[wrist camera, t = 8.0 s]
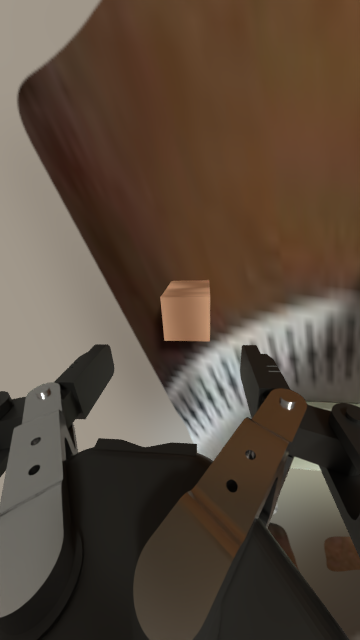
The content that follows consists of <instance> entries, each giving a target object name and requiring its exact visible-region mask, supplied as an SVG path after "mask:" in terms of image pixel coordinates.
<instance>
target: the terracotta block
mask: <svg viewBox="0 0 360 640" xmlns="http://www.w3.org/2000/svg"><path fill="white" fill-rule="evenodd" d="M160 299H161V310H162V320H163V331H164V341H210V287H209V280H195V281H171V283H170V284H169V286H168V287H167V289H166V290H165V292H164V293H163V294H162V296H161V297H160Z"/></svg>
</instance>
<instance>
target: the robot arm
mask: <svg viewBox="0 0 360 640" xmlns="http://www.w3.org/2000/svg"><path fill="white" fill-rule="evenodd" d="M113 373H114V363H113V359H112V354H111V349H110V346H109V345H94V346H93V347H92V349H90V351H89V352H87V353H85V354H83V355H82V356H80V357H79V358H78V359H77V360H76V361H75V362H74V363H73V364H72V365H71V366H70V367H69V368H68V369H67V370H66V371H65V372H64V373H63V374H62V375H61V376H60V377H59V378H58V379H57V380H56V381H55V382H53V383H46V384H42V385H40V386H38V387H36V388H34V389H33V390H32V391H30V392H29V393H28V394H27V396H26V397H22V398H17V399H11V397H10V395H9V394H8V392H5V391H1V392H0V477H1V475H2V474H3V473H4V472H5V471H6V474H5V480H4V486H3V491H2V496H1V502H0V640H349V639H348V637H347V635H346V634H345V633H344V631H343V630H342V628H341V627H340V626H339V624H338V623H337V622H336V620H335V619H334V618H333V616H332V615H331V614H330V612H329V611H328V610H327V608H326V607H325V605H324V604H323V603H322V602H321V600H320V599H319V597H318V596H317V595H316V593H315V592H314V591H313V589H312V588H311V587H310V585H309V584H308V583H307V581H306V580H305V579H304V577H303V576H302V575H301V573H300V572H299V571H298V569H297V568H296V567H295V565H294V564H293V563H292V561H291V560H290V559H289V557H288V556H287V555H286V553H285V552H284V550H283V549H282V548H281V546H280V545H279V544H278V542H277V541H276V540H275V538H274V537H273V536H272V534H271V533H270V532H269V530H268V529H267V528H268V525H269V523H270V520H271V518H272V515H273V512H274V509H275V506H276V503H277V500H278V497H279V494H280V491H281V489H282V486H283V484H284V482H285V479H286V477H287V474H288V471H289V469H290V467H291V464H292V462H293V459H294V457H297V458H300V459H303V460H306V461H308V462H311V463H314V464H317V465H319V467H320V469H321V471H322V474H323V476H324V478H325V480H326V483H327V485H328V487H329V490H330V492H331V494H332V496H333V498H334V501H335V503H336V505H337V508H338V510H339V512H340V514H341V517H342V519H343V521H344V523H345V526H346V528H347V530H348V532H349V534H350V537H351V539H352V541H353V544H354V546H355V548H356V550H357V553H358V555H359V557H360V407H358V406H355V405H352V404H347V403H338V404H335V405H334V406H333V407H332V410H331V411H329V410H325V409H321V408H317V407H314V406H311V405H308V404H307V403H306V401H305V399H304V398H303V397H302V396H301V395H299V394H298V393H296V392H294V391H292V390H290V388H289V386H288V384H287V383H286V381H285V379H284V377H283V375H282V374H281V372H280V370H279V368H278V367H277V365H276V363H275V361H274V360H273V359H272V358H271V357H270V356H268V355H267V354H260V352H259V350H258V348H257V346H256V345H243V346H242V352H241V365H240V374H241V380H242V384H243V388H244V391H245V395H246V399H247V402H248V406H249V410H250V414H251V417H252V419H250V418H248V417H247V418H245V419H244V420H243V422H242V423H241V424H240V426H239V427H238V428H237V430H236V431H235V432H234V434H233V435H232V437H231V438H230V439H229V441H228V442H227V443H226V445H225V446H224V447H223V449H222V450H221V452H220V453H219V454H218V456H217V457H216V458H215V460H214V461H212V460H211V459H209V458H208V457H206V456H203V455H201V454H199V453H197V444H187V443H167V444H162V445H156V446H151V447H141V446H138V445H135V444H133V443H130V442H127V441H124V440H119V439H101V438H99V439H98V441H97V443H96V445H95V447H93V448H90V449H86V450H84V451H81V452H79V453H78V449H77V442H76V435H75V429H74V425H73V422H74V420H75V419H86V417H87V416H88V414H89V412H90V411H91V409H92V407H93V406H94V404H95V403H96V401H97V400H98V398H99V396H100V395H101V393H102V392H103V390H104V388H105V387H106V385H107V384H108V382H109V381H110V379H111V377H112V376H113Z"/></svg>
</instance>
